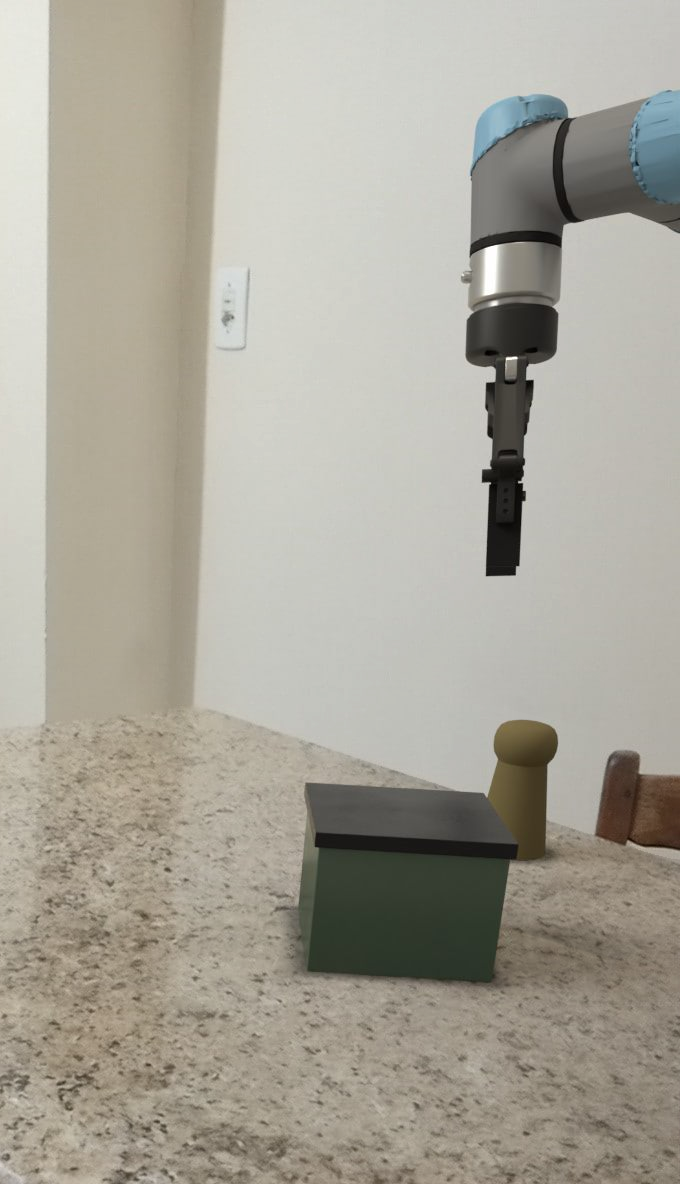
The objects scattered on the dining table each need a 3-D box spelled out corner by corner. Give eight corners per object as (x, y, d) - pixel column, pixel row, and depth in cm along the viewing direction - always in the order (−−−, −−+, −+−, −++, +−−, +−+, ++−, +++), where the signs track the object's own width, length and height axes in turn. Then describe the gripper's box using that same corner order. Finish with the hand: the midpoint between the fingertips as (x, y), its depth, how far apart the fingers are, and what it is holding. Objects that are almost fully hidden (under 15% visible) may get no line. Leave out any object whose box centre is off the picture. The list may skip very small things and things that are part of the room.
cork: (524, 864, 114) (545, 733, 110) (460, 847, 117) (477, 720, 113) (558, 850, 118) (579, 723, 114) (495, 834, 122) (513, 711, 118)
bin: (465, 918, 101) (483, 792, 97) (497, 985, 89) (519, 844, 85) (293, 908, 101) (305, 782, 98) (302, 972, 89) (315, 832, 86)
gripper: (468, 345, 129) (459, 580, 133) (464, 274, 105) (454, 563, 109) (551, 339, 127) (540, 578, 131) (567, 266, 103) (553, 560, 108)
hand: (501, 572), depth 120 cm, fingers open, 13 cm apart
